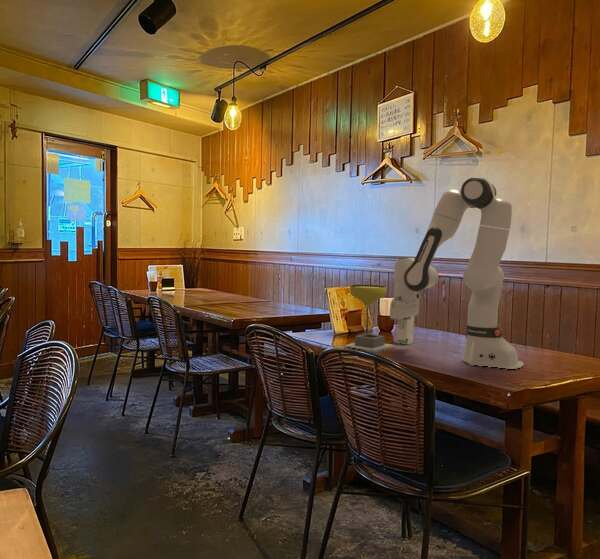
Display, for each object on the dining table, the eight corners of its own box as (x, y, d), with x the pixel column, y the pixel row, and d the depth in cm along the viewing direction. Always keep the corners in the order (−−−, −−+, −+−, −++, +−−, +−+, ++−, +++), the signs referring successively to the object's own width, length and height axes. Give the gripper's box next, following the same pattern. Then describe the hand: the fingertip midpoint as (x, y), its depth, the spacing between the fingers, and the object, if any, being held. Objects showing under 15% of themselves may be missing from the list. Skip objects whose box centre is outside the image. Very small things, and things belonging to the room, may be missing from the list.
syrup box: (396, 343, 231) (397, 312, 230) (402, 341, 236) (403, 311, 235) (406, 344, 227) (407, 313, 226) (413, 343, 232) (414, 312, 231)
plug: (411, 337, 212) (411, 316, 212) (406, 338, 209) (406, 317, 208) (401, 336, 215) (402, 315, 214) (397, 337, 211) (397, 316, 211)
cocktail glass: (345, 332, 257) (346, 284, 255) (379, 332, 259) (380, 285, 257) (353, 339, 239) (354, 287, 237) (389, 339, 241) (391, 287, 240)
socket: (394, 347, 222) (394, 336, 221) (376, 352, 209) (376, 340, 209) (363, 342, 232) (363, 331, 231) (344, 347, 219) (344, 336, 219)
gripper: (399, 297, 201) (399, 331, 202) (421, 294, 217) (421, 325, 217) (385, 296, 205) (385, 330, 205) (408, 293, 221) (408, 324, 221)
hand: (404, 327), depth 212 cm, fingers closed on plug, 4 cm apart
